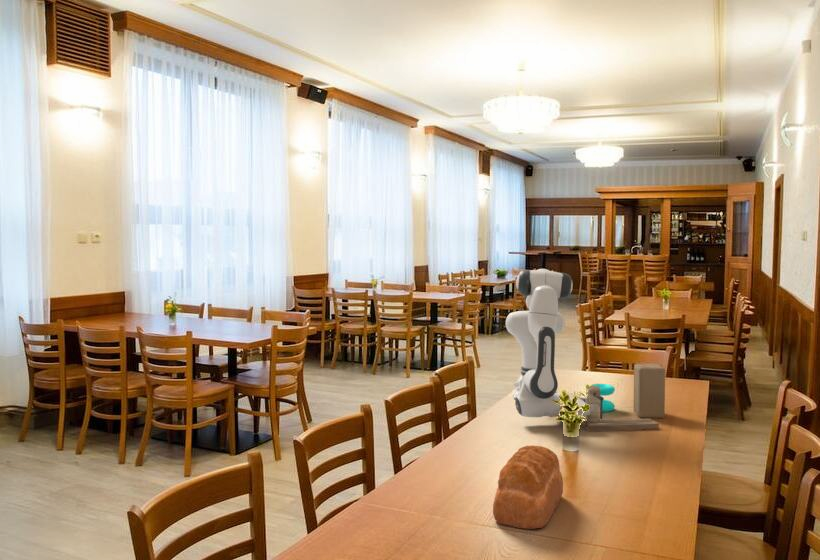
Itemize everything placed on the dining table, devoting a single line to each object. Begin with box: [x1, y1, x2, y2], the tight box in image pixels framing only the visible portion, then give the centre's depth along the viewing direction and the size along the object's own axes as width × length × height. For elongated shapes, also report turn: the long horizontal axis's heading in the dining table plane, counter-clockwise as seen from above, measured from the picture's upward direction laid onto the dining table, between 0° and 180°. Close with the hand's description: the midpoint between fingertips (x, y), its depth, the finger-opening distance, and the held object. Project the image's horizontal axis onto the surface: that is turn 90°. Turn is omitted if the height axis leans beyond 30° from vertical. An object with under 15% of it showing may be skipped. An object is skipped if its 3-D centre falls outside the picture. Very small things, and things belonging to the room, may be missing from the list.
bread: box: [492, 445, 564, 530], centre depth 177 cm, size 14×26×16 cm, turn 156°
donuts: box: [590, 383, 616, 413], centre depth 277 cm, size 10×10×10 cm
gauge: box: [585, 385, 605, 421], centre depth 254 cm, size 11×4×14 cm, turn 5°
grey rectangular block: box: [633, 363, 666, 419], centre depth 267 cm, size 10×10×20 cm
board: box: [583, 418, 660, 432], centre depth 251 cm, size 7×26×2 cm, turn 95°
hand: (593, 403), depth 257 cm, fingers open, 8 cm apart
